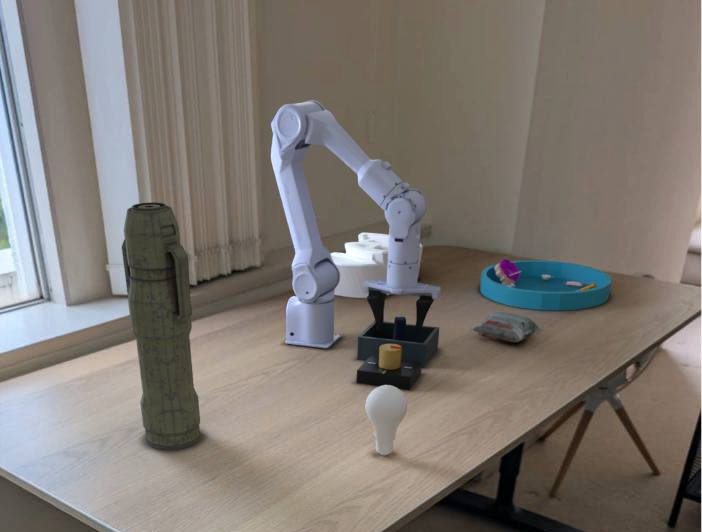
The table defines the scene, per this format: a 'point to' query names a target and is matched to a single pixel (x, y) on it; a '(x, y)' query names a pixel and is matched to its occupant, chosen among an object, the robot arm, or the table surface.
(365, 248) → the wavy white extrusion
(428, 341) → the dark teal open box
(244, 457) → the table surface
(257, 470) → the table surface
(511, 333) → the packaged food
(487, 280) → the round blue tray
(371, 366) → the block
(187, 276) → the thermos
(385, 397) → the lightbulb
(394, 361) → the tap knob
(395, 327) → the eraser
